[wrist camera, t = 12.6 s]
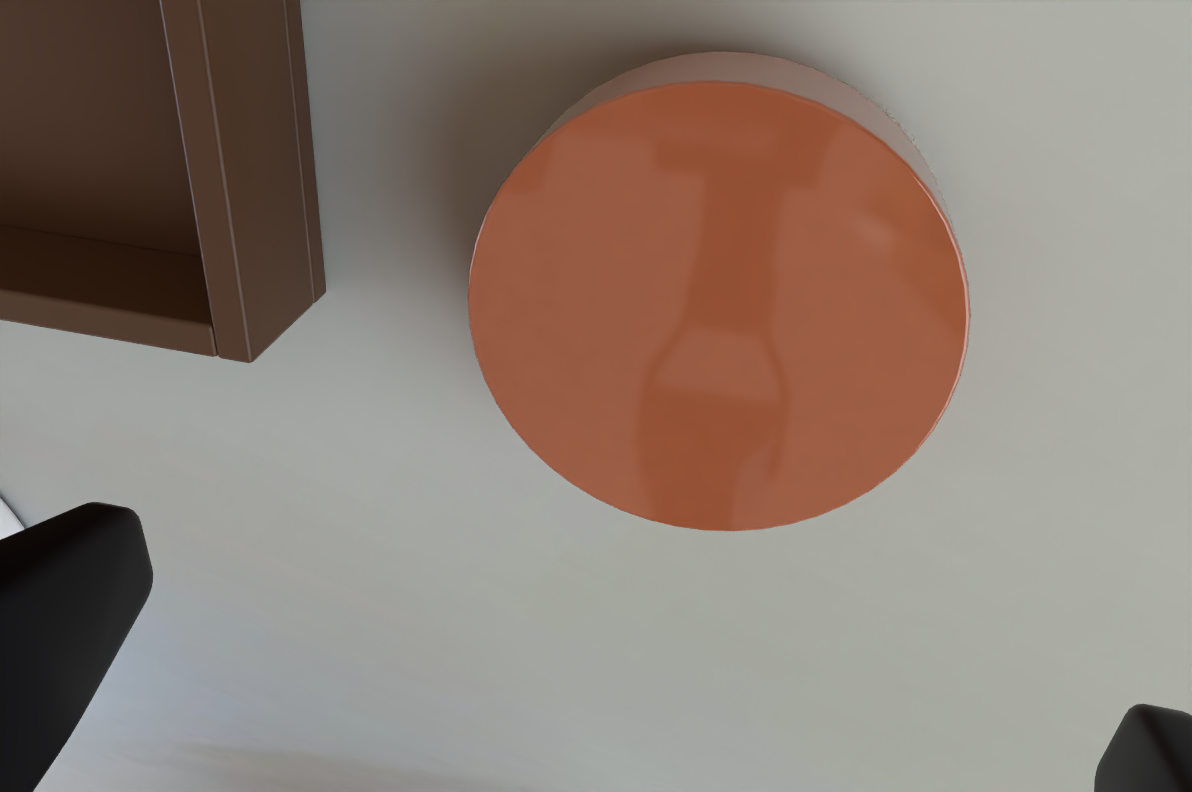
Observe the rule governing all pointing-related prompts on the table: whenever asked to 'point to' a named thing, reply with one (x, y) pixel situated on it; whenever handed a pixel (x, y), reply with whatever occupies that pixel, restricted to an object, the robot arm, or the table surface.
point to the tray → (158, 172)
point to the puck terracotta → (721, 294)
